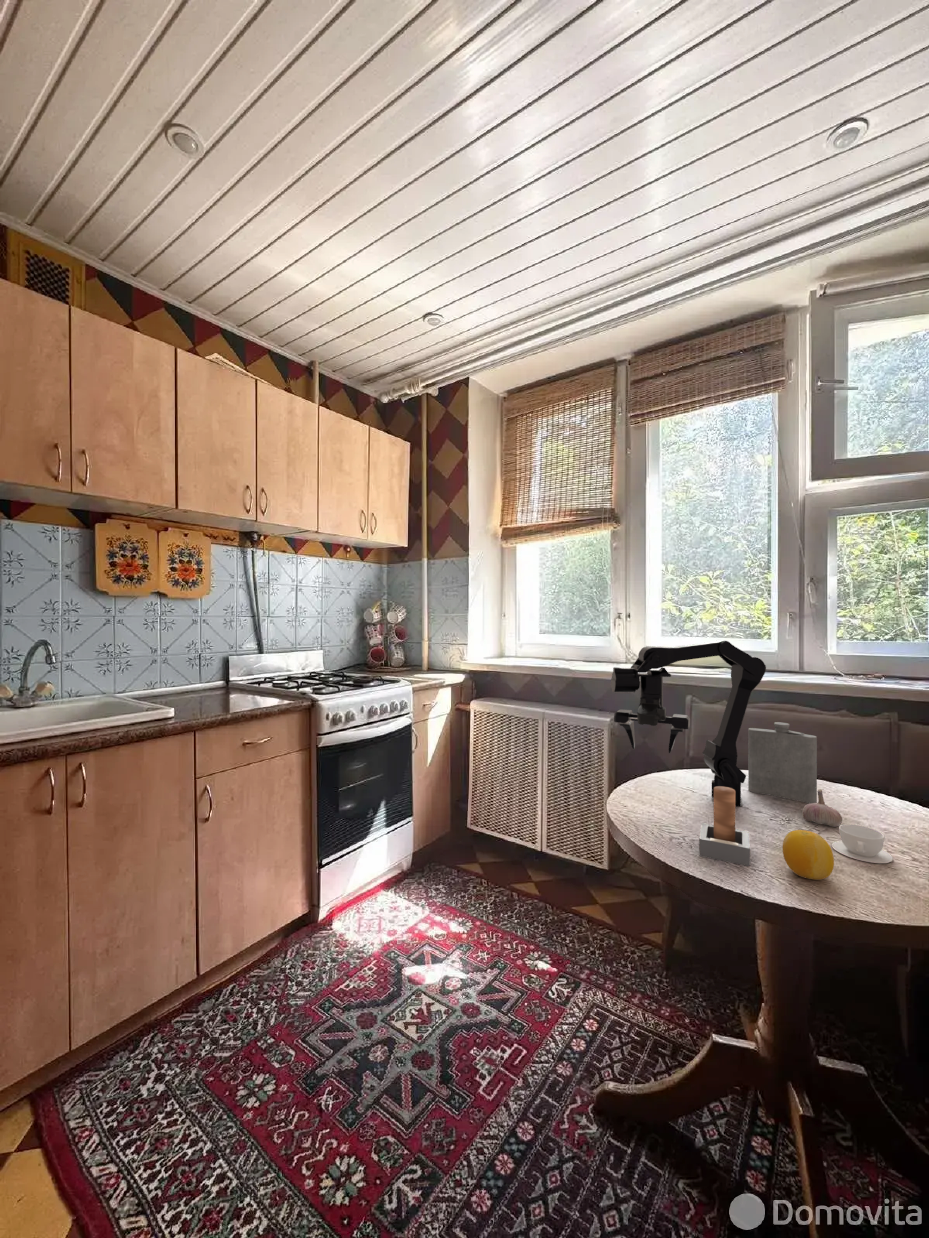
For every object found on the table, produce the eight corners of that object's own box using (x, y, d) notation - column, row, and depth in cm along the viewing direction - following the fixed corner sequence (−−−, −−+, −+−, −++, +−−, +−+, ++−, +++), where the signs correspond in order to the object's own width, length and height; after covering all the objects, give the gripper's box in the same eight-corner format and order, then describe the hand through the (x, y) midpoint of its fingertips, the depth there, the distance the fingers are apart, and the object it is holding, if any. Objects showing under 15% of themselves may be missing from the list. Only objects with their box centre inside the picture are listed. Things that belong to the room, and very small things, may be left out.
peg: (730, 847, 105) (730, 786, 105) (738, 856, 101) (738, 793, 101) (710, 846, 105) (710, 785, 105) (717, 855, 101) (718, 792, 101)
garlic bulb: (795, 819, 120) (795, 786, 120) (816, 815, 123) (816, 783, 123) (828, 832, 113) (828, 797, 113) (849, 827, 116) (849, 793, 116)
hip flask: (747, 791, 140) (747, 720, 140) (750, 787, 143) (750, 718, 143) (816, 804, 129) (816, 728, 130) (817, 800, 133) (817, 725, 133)
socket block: (748, 847, 105) (748, 830, 105) (749, 866, 97) (749, 847, 97) (701, 838, 109) (701, 821, 109) (699, 855, 101) (699, 837, 101)
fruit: (845, 889, 89) (845, 845, 89) (796, 885, 90) (795, 841, 90) (818, 865, 97) (818, 824, 97) (773, 862, 99) (773, 822, 99)
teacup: (833, 838, 110) (833, 817, 110) (892, 852, 103) (892, 829, 103) (829, 855, 102) (829, 832, 102) (893, 870, 96) (893, 846, 96)
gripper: (609, 694, 131) (609, 753, 131) (686, 699, 122) (686, 763, 122) (618, 689, 141) (618, 743, 141) (690, 694, 132) (690, 752, 132)
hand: (651, 750), depth 134 cm, fingers open, 9 cm apart
